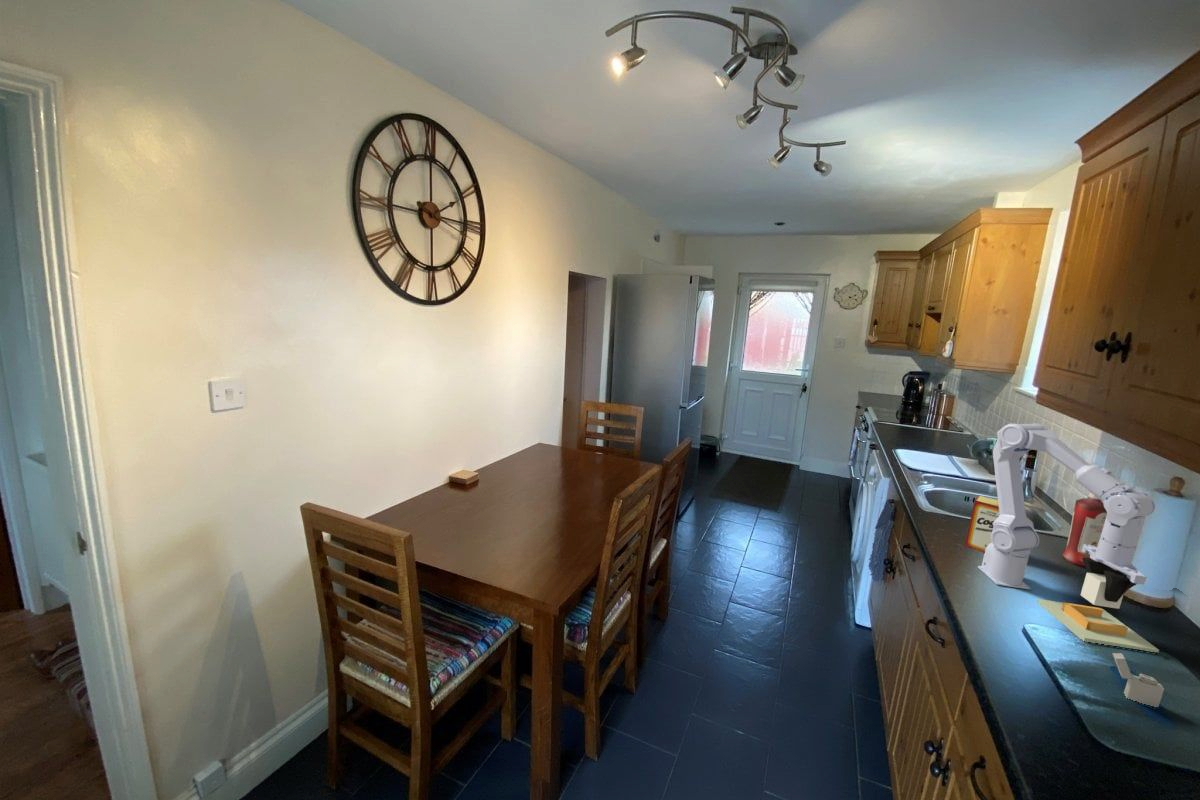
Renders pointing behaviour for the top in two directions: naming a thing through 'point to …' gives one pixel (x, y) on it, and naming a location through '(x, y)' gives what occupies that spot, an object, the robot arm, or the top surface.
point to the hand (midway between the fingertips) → (1102, 595)
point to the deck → (1096, 625)
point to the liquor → (1085, 528)
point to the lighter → (1139, 684)
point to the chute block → (1097, 591)
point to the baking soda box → (982, 523)
